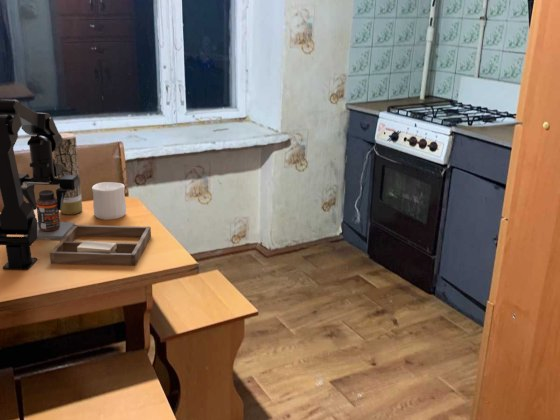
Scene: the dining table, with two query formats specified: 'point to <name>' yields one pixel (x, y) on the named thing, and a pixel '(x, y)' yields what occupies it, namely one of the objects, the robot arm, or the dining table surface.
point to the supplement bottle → (47, 211)
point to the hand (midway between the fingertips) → (47, 209)
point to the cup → (109, 200)
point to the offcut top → (96, 247)
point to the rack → (123, 256)
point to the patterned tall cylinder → (69, 172)
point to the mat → (56, 234)
